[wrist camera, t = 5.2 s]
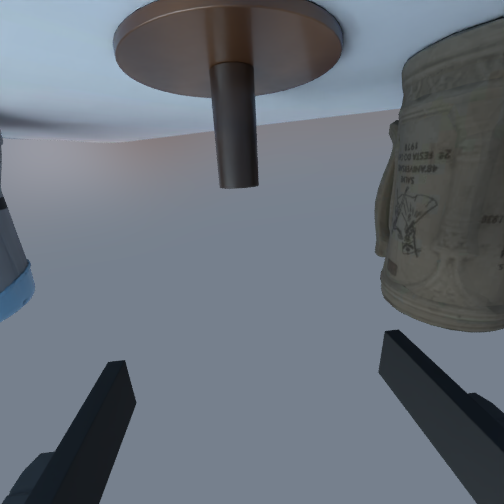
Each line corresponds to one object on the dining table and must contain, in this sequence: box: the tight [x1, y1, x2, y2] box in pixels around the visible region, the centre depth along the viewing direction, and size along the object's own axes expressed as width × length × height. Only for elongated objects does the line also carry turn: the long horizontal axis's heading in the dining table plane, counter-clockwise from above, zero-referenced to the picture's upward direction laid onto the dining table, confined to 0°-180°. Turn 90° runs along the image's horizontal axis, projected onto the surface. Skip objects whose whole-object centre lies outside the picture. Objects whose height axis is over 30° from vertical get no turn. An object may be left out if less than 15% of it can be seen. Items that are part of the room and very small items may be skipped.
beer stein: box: [375, 18, 504, 332], centre depth 22 cm, size 15×11×20 cm
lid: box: [113, 0, 343, 189], centre depth 18 cm, size 14×14×8 cm
